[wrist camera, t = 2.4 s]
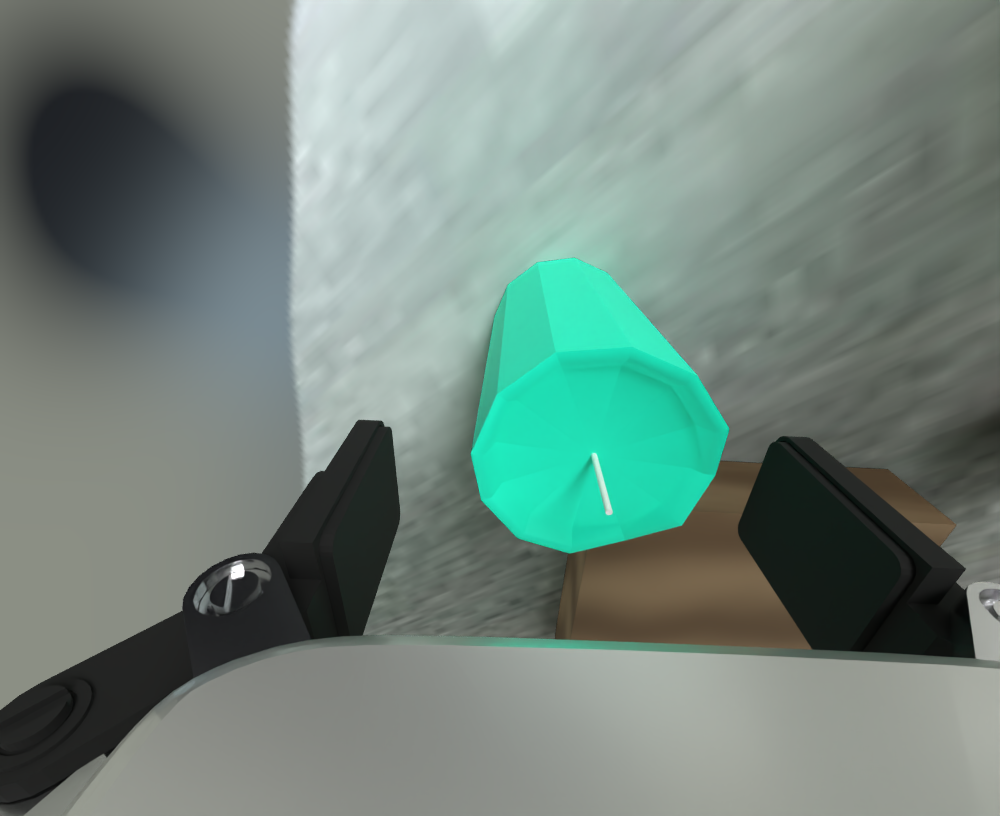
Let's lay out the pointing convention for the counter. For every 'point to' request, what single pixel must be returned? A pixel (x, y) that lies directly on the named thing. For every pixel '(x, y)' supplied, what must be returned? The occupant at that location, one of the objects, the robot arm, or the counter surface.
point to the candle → (588, 415)
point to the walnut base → (702, 574)
